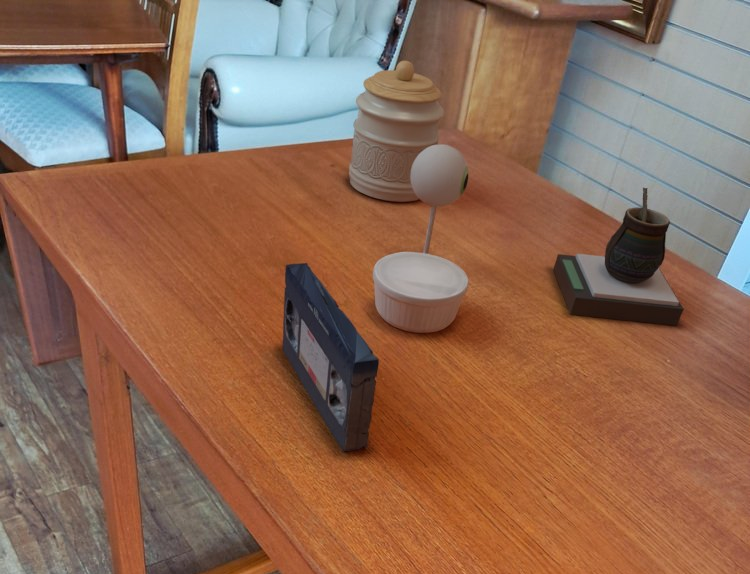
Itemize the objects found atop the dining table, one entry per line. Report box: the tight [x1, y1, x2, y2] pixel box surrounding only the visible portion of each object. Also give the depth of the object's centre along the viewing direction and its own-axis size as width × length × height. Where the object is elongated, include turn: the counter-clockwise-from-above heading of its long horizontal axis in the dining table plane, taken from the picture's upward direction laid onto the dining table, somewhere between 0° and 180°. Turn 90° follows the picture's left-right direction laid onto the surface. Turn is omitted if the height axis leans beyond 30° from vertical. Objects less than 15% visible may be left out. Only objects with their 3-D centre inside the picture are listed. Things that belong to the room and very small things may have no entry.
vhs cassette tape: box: [282, 262, 380, 452], centre depth 76 cm, size 18×3×10 cm, turn 22°
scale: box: [552, 252, 685, 327], centre depth 103 cm, size 14×12×3 cm
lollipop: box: [410, 143, 469, 254], centre depth 100 cm, size 7×7×15 cm
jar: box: [348, 60, 445, 203], centre depth 117 cm, size 13×13×18 cm
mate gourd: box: [604, 187, 671, 284], centre depth 99 cm, size 7×8×10 cm
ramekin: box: [372, 251, 469, 334], centre depth 93 cm, size 11×11×5 cm
